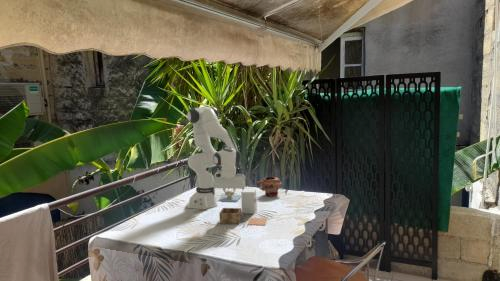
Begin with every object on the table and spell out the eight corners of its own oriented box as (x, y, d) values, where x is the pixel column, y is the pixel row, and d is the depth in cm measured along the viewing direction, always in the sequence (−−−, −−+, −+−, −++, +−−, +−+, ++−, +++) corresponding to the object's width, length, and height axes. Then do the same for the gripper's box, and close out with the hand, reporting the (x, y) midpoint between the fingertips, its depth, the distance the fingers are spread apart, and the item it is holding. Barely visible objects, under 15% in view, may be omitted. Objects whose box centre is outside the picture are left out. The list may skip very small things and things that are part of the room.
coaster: (247, 224, 216) (247, 224, 216) (250, 218, 226) (250, 217, 226) (265, 225, 214) (265, 224, 214) (267, 218, 225) (267, 218, 225)
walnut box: (219, 224, 219) (219, 213, 218) (223, 218, 229) (223, 207, 228) (238, 224, 217) (238, 213, 216) (241, 218, 227) (241, 208, 226)
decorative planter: (257, 198, 270) (257, 180, 268) (256, 193, 282) (255, 176, 280) (283, 196, 271) (282, 179, 269) (280, 192, 283) (280, 175, 282)
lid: (218, 202, 217) (218, 193, 217) (222, 197, 227) (221, 188, 226) (237, 203, 216) (237, 193, 215) (240, 198, 225) (240, 189, 224)
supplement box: (254, 214, 235) (254, 192, 233) (241, 213, 237) (240, 192, 235) (257, 209, 244) (256, 188, 242) (244, 209, 245) (243, 188, 243)
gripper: (246, 172, 220) (246, 193, 222) (214, 172, 223) (215, 193, 225) (244, 174, 214) (245, 196, 216) (211, 174, 217) (212, 196, 219)
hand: (229, 194), depth 221 cm, fingers closed on lid, 3 cm apart
